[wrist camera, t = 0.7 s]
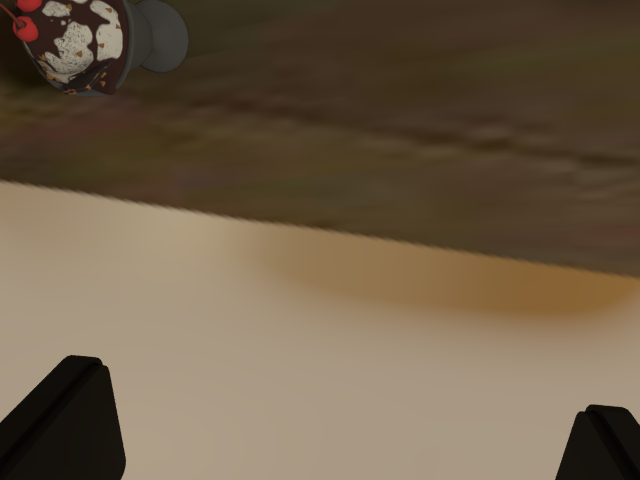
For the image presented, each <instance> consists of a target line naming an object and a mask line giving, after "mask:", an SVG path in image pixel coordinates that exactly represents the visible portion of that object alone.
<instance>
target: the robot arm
mask: <svg viewBox="0 0 640 480" xmlns="http://www.w3.org/2000/svg"><path fill="white" fill-rule="evenodd" d="M125 465H126V457H125V452H124V447H123V441H122V436H121V431H120V426H119V420H118V415H117V409H116V404H115V399H114V393H113V388H112V383H111V378H110V373H109V369H108V367H107V366H104V365H103V364H102V361H101V360H100V359H99V358H96V357H87V356H76V355H70V356H67V357H66V358H65V359H63V360H62V361H61V362H60V363H59V364H58V365H57V366H56V367H55V368H54V369H53V370H52V371H51V372H50V373H49V374H48V375H47V376H46V377H45V378H44V379H43V380H42V381H41V382H40V383H39V384H38V385H37V386H36V387H35V388H34V389H33V390H32V391H31V392H30V393H29V394H28V395H27V396H26V397H25V398H24V399H23V400H22V401H21V402H20V403H19V404H18V405H17V406H16V408H14V409H13V410H12V411H11V412H10V413H9V415H7V416H6V417H5V418H4V419H3V420H2V421H1V423H0V480H121V478H122V476H123V473H124V470H125ZM555 480H640V425H639V424H638V423H637V421H636V420H635V418H634V417H633V415H632V414H631V413H630V412H629V411H628V410H627V409H625V408H623V407H614V406H604V405H589V406H588V407H587V408H586V410H585V412H583V411H582V412H581V411H580V412H579V413H578V414H577V415H576V418H575V421H574V424H573V427H572V430H571V433H570V436H569V439H568V442H567V445H566V448H565V451H564V454H563V457H562V460H561V463H560V467H559V470H558V473H557V476H556V479H555Z"/></svg>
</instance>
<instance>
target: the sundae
mask: <svg viewBox="0 0 640 480" xmlns="http://www.w3.org/2000/svg"><path fill="white" fill-rule="evenodd" d="M14 1H15V8H14V10H13V12H12V13H11V12H10V11H9V10H8V9H7V8H6V7H4V6H3V5H2V4H0V6H1V7H2V8H3V9H4V10H5V11H6V12H7V13H8V14H9V15H10V16H11V18H12V19H13V20H14V22H13V31H14V33H15V34H16V36H17V37H18V38H19V39H20V40H21V42H22V45H23V47H24V48H25V50H26V52H27V54H28V55H29V57H30V59H31V60H32V62H33V63H34V65H35V66H36V68H37V69H38V71H39V72H40V74H41V75H42V76H43V77H44V78H45V79H46V80H47V81H48V82H49V83H51V84H52V85H53V86H54V87H55V88H58V89H60V90H62V91H64V94H70V95H71V94H72V95H75V96H82V97H99V96H103V95H106V94H108V95H113V94H115V92H116V89H117V88H118V87H119V86H120V85H121V84H122V83H123V81H124V79H125V77H126V75H127V73H128V71H130V70H132V69H134V68H136V67H138V66H139V65H141V66H142V67H144V68H146V69H148V70H150V71H153V72H168V71H171V70H173V69H175V68H176V67H178V66H179V65H180V64H181V62H182V61H183V60H184V58H185V56H186V53H187V50H188V44H189V41H188V32H187V28H186V26H185V23H184V21H183V19H182V17H181V16H180V14H179V13H178V12H177V11H176V10H175V9H174V8H173V7H171V6H170V5H169V4H167V3H165V2H163V1H160V0H143V1H141V2H139V3H137V4H136V5H132V4H131V3H130V2H128V1H127V0H14Z"/></svg>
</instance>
